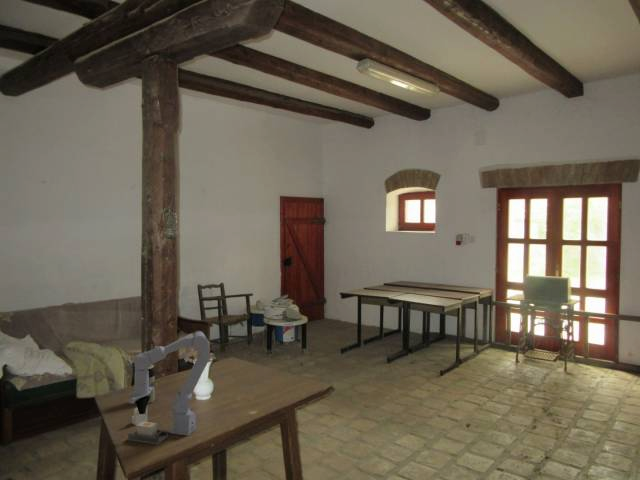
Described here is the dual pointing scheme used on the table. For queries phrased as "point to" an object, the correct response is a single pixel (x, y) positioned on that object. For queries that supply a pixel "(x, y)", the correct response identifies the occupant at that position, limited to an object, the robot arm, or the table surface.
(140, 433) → the module
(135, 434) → the rail mount
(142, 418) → the white wedge bracket
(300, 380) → the table surface
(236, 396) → the table surface
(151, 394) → the travel mug
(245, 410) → the table surface
